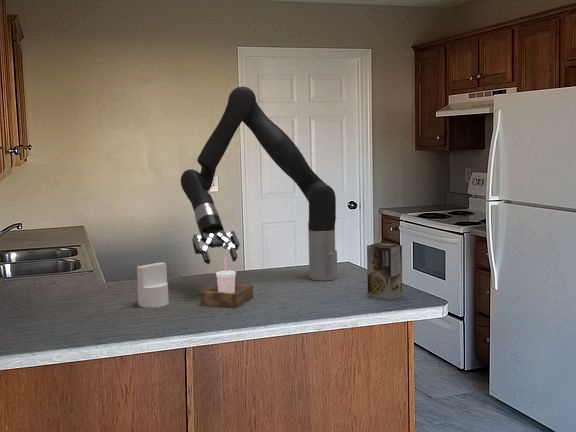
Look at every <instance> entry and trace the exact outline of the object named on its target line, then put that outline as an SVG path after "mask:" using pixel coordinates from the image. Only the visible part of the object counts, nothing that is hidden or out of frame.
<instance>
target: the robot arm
mask: <svg viewBox="0 0 576 432" xmlns="http://www.w3.org/2000/svg"><path fill="white" fill-rule="evenodd" d="M242 122H243V124H244V125H245V126H246V127H247V128H248V129H249V130H250V131H251V133H252V135H254V136H255V138H256V140H257V141H258V143H259V144H260V145H261V147H262V148H263V149H264V151H265V152H266V154H267V155H268V156H269V157H270V159H272V161H274V163H275V164H276V165H277V166H278V167H279V168H280V170H281V171H282V172H283V173H285V174H286V175H287V176H288V177H289V178H290V179H291V180H292V181H293V182H294V183H295V184H296V186H298V188H299V190H300V191H301V192H302V194H303V196H304V197H305V198H306V200H307V203H308V222H307V223H308V231H307V232H308V233H307V234H308V275H309V280H313V281H319V282H320V281H334V280H335V279H337V277H338V250H337V249H336V221H337V220H336V219H337V216H336V215H337V210H336V209H337V204H336V203H337V201H336V200H337V199H336V198H337V197H336V193H335V192H336V191H335V190H334V189H333V188H332V187H331V186H330V185H328V184H327V182H325V181H324V180H323V179H321V178H320V177H319V176H318V175H317V174H316V172H315V171H314V170H313V169H312V168H311V167H310V165H309V163H308V162H307V160H306V159H305V156H304V155H303V153H302V152H301V151H300V149H299V148H298V146H297V145H296V144H295V143H294V142H293V140H292V139H291V138H290V136H289V135H288V134H287V133H286V132H285V131H284V130H283V129H282V128H281V127H280V126H278V125H277V124H276V123H274V122H273V121H272V120H271V119H270V118H269V117H268V116H267V115H266V113H265V112H264V111H263V110H262V108H261V107H260V105H259V104H258V102H257V97H256V94H255V93H254V91H253V90H252V89H251V88H249V87H247V86H238V87H236V88H234V89H233V90H232V91H231V92H230V93H229V95H228V99H227V104H226V107H225V110H224V112H223V113H222V116H221V119H220V120H219V122H218V124H217V125H216V127H215V128H214V130H213V132H212V133H211V134H210V136H209V138H208V139H207V141H206V142H205V144H204V146H203V148H202V150H201V151H200V153H199V155H198V157H197V159H196V160H197V161H196V162H197V163H198V164H199V165H200V166H201V170H200V172H199V171H197V170H195V169H193V168H192V169H187V170H185V171H184V172H183V173H182V174H181V177H180V187H181V188H182V191H183V192H184V194H185V196H186V197H187V199H188V200H189V201H190V204H191V206H192V209H193V213H194V219H195V223H196V226H197V227H198V232H199V234H200V235H198V234H196V233H193V236H192V239H191V242H192V245H193V251H194V254H195V255H201V256H202V259H203V261H204V263H205V264H206V265H210V263H211V257H210V254H209V252H208V250H209V248H211V249H213V248H224V249H225V250H228V252H229V255H230V257H231V260H232V262H236V260H237V258H238V253H237V251H238V249H239V248H240V245H241V244H240V241H239V239H238V236H237V235H236V232H235V231H234V230H231V231H230V232H225V230H224V226H223V223H222V220H221V218H220V215H219V212H218V209H217V208H216V205H215V203H214V200H213V197H212V195H211V194H210V193H209V191H210V189H211V188H212V185H213V182H214V179H215V178H214V177H215V175H216V171H217V167H218V165H219V164H220V162H221V160H222V158H223V157H224V155H225V152H226V151H227V149H228V148H229V145H230V143H231V141H232V139H233V137H234V136H235V133H236V132H237V130H238V128H239V127H240V125H241V123H242ZM200 241H201V242H203V243H204V245H203V246H202V247H201V246H200V245H201V244H200Z"/></svg>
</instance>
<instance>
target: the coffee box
mask: <svg viewBox="0 0 576 432" xmlns="http://www.w3.org/2000/svg"><path fill="white" fill-rule="evenodd" d="M366 265H367V267H366V268H367V272H366V273H367V297H370V298H376V299H382V300H387V301H393V300H396V299H399V298H403V245H402V244H396V243H395V244H393V243H385V242H375V243H372V244H370V245H367V246H366Z"/></svg>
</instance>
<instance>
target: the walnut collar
mask: <svg viewBox="0 0 576 432" xmlns="http://www.w3.org/2000/svg"><path fill="white" fill-rule="evenodd" d="M253 287H254V286H253V285H252V284H238V283H237V284H236V283H235V293H226V292H218V283H215V284H213V285H211V286H210V287H207V288H206V289H204V290H202V291H200V293H199V296H200V306H205V307H206V306H207V307H208V306H209V307H222V308H233V309H234V308H235V309H236V308H237V309H238V308H239V307H241V306H242V305H245V304H246V303H248V302H249V301H251V300H252V299H254V292H253V291H254V288H253Z"/></svg>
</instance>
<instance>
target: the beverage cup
mask: <svg viewBox="0 0 576 432" xmlns="http://www.w3.org/2000/svg"><path fill="white" fill-rule="evenodd" d="M227 269H228V268H227V256H224V270H220V271H216V272H215V276H216V279H217V280H216V281H217V283H218V292H226V293H235V284H236V276H237V272H236V270H227ZM217 283H216V284H217Z"/></svg>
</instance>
